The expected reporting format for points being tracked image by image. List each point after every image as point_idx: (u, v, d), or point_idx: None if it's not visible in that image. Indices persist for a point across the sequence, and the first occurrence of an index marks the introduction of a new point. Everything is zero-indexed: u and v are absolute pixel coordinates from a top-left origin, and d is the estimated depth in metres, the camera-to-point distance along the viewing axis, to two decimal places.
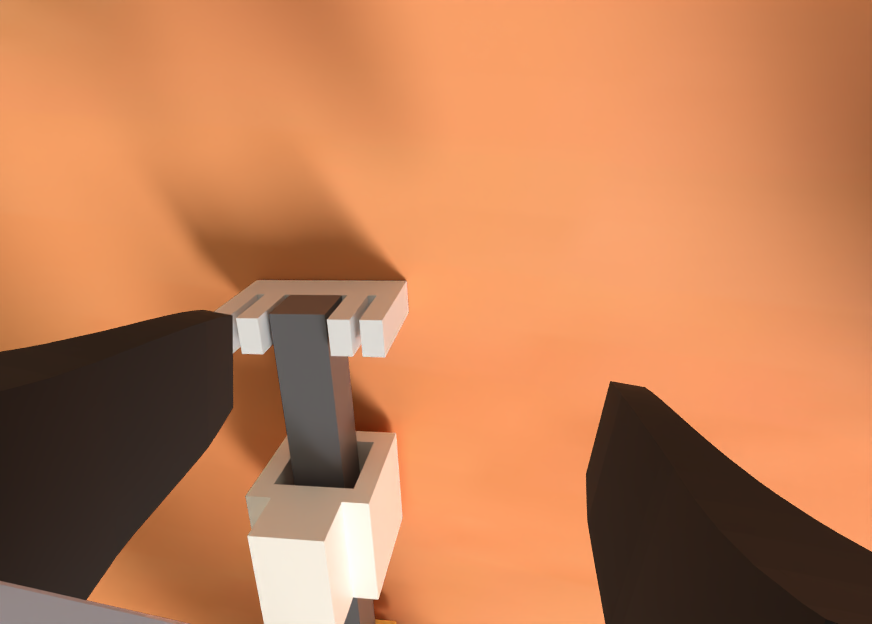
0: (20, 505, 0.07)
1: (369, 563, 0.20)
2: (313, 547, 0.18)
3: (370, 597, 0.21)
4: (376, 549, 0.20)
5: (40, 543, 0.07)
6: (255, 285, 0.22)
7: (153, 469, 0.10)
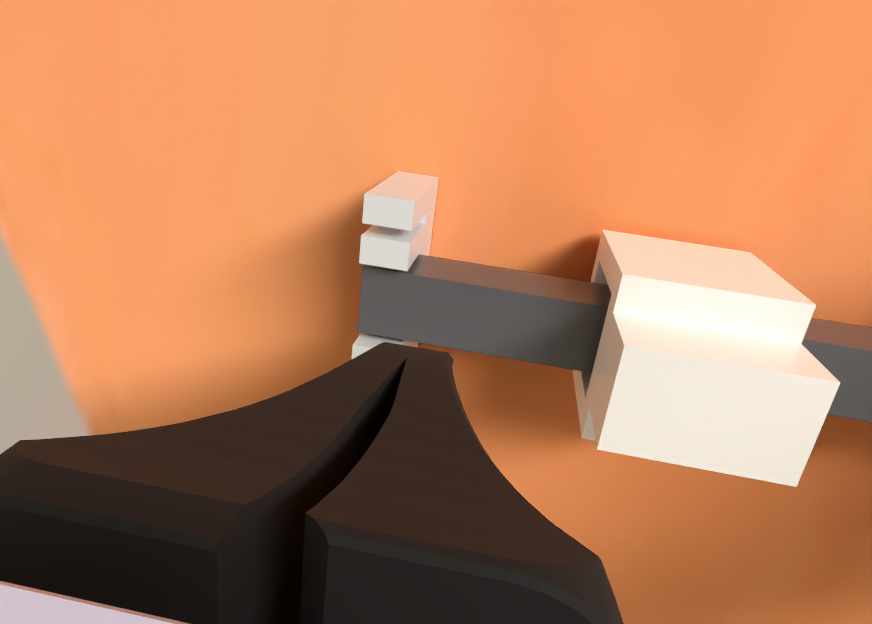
0: None
1: (736, 300, 0.13)
2: (632, 363, 0.12)
3: (808, 316, 0.13)
4: (719, 285, 0.13)
5: None
6: None
7: None
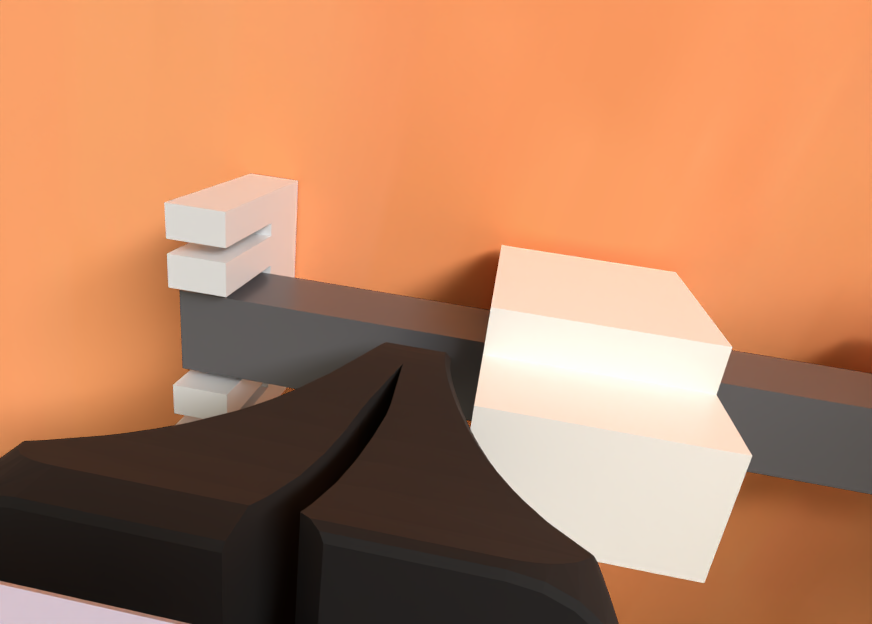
0: None
1: (632, 341, 0.10)
2: (486, 428, 0.09)
3: (724, 361, 0.10)
4: (614, 321, 0.10)
5: None
6: None
7: None
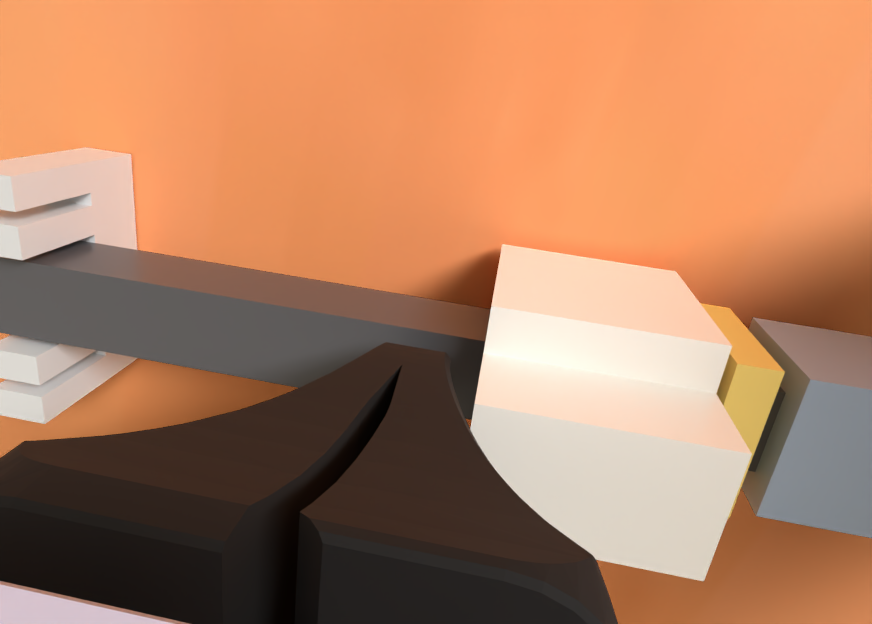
0: None
1: (633, 339, 0.10)
2: (486, 426, 0.09)
3: (723, 360, 0.10)
4: (615, 319, 0.10)
5: None
6: None
7: None
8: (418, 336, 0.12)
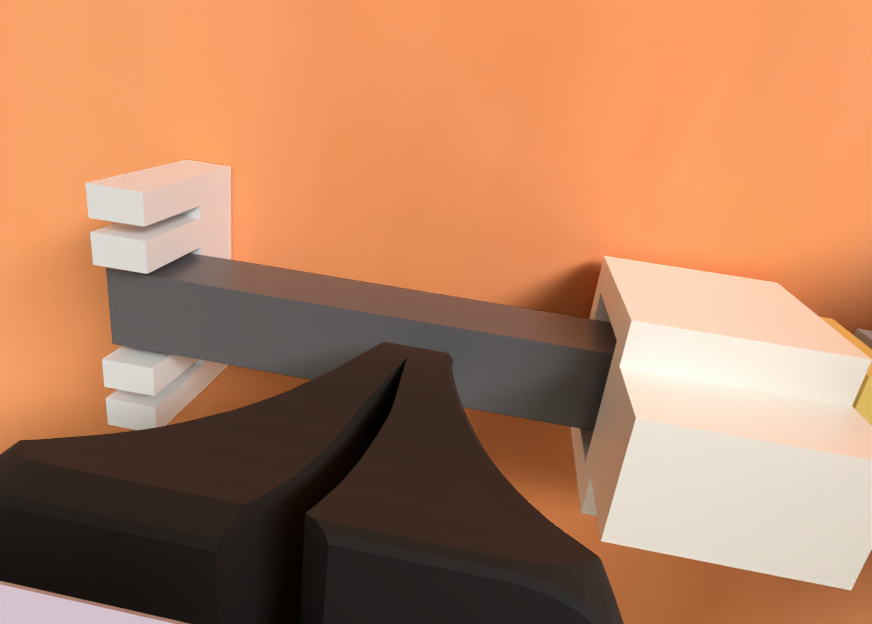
0: None
1: (772, 353, 0.10)
2: (646, 440, 0.09)
3: (862, 373, 0.10)
4: (751, 333, 0.11)
5: None
6: None
7: None
8: (540, 348, 0.12)
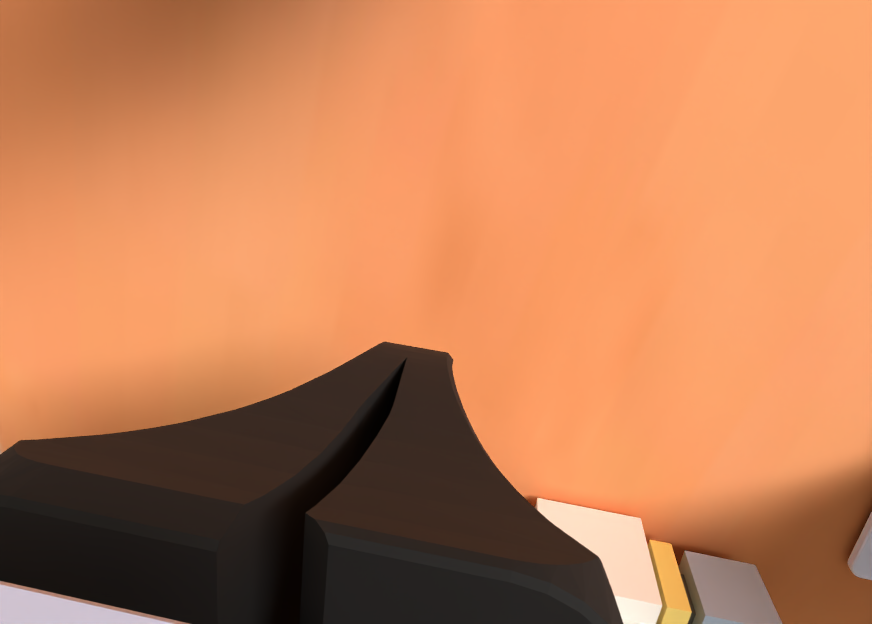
0: None
1: None
2: None
3: (658, 611, 0.20)
4: None
5: None
6: None
7: None
8: None
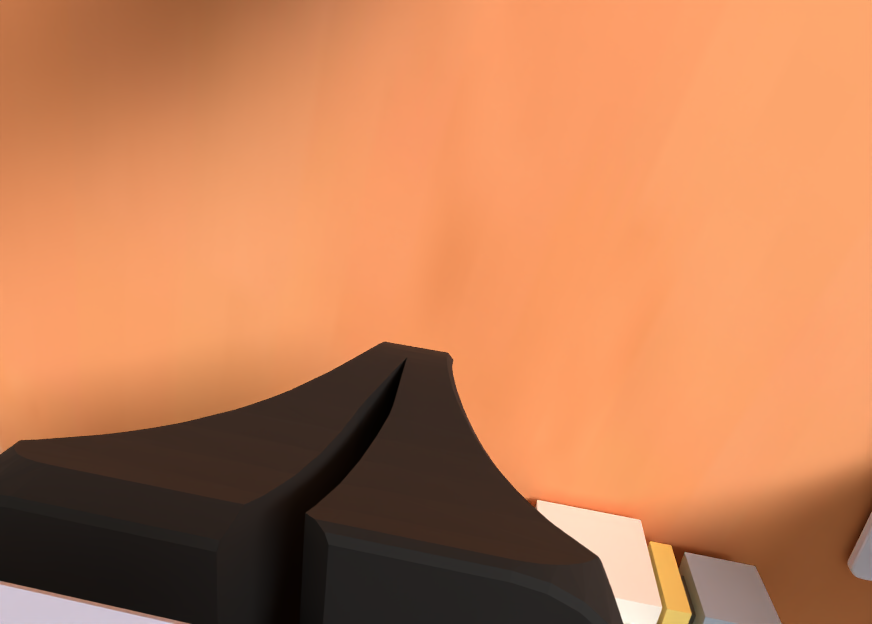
0: None
1: None
2: None
3: (658, 613, 0.20)
4: None
5: None
6: None
7: None
8: None
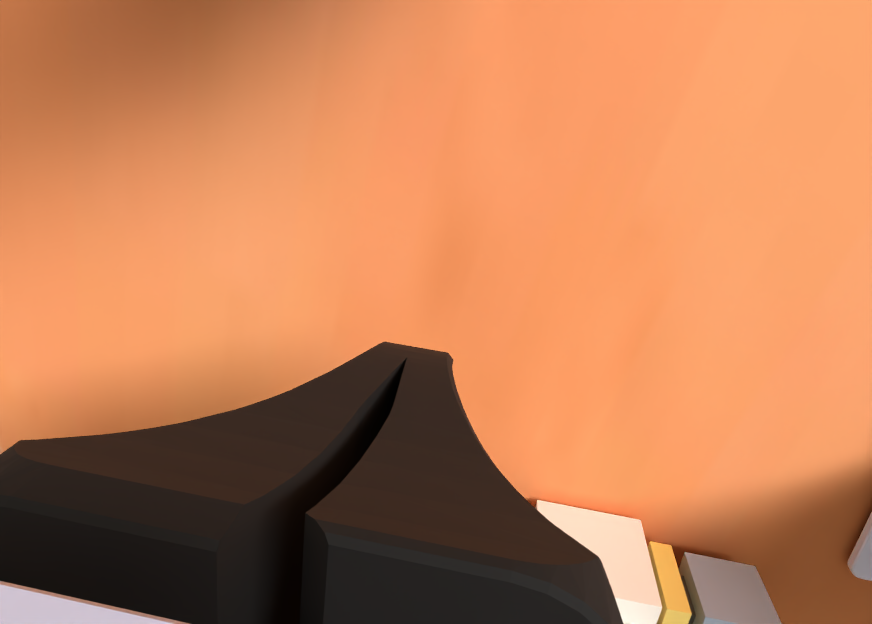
0: None
1: None
2: None
3: (658, 613, 0.20)
4: None
5: None
6: None
7: None
8: None
